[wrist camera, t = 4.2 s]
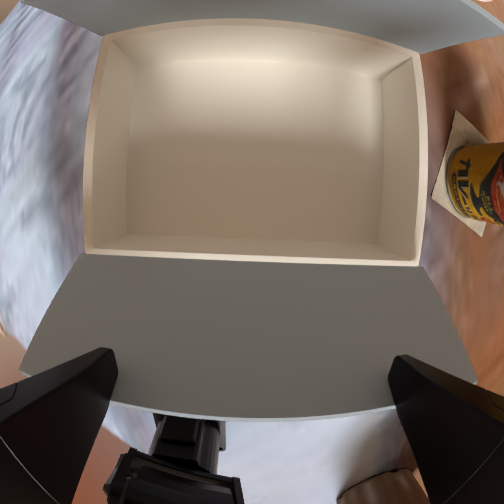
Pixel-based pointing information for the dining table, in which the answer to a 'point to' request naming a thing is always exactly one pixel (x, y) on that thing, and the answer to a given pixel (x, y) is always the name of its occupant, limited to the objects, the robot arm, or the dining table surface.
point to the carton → (256, 145)
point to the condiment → (471, 177)
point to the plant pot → (386, 490)
